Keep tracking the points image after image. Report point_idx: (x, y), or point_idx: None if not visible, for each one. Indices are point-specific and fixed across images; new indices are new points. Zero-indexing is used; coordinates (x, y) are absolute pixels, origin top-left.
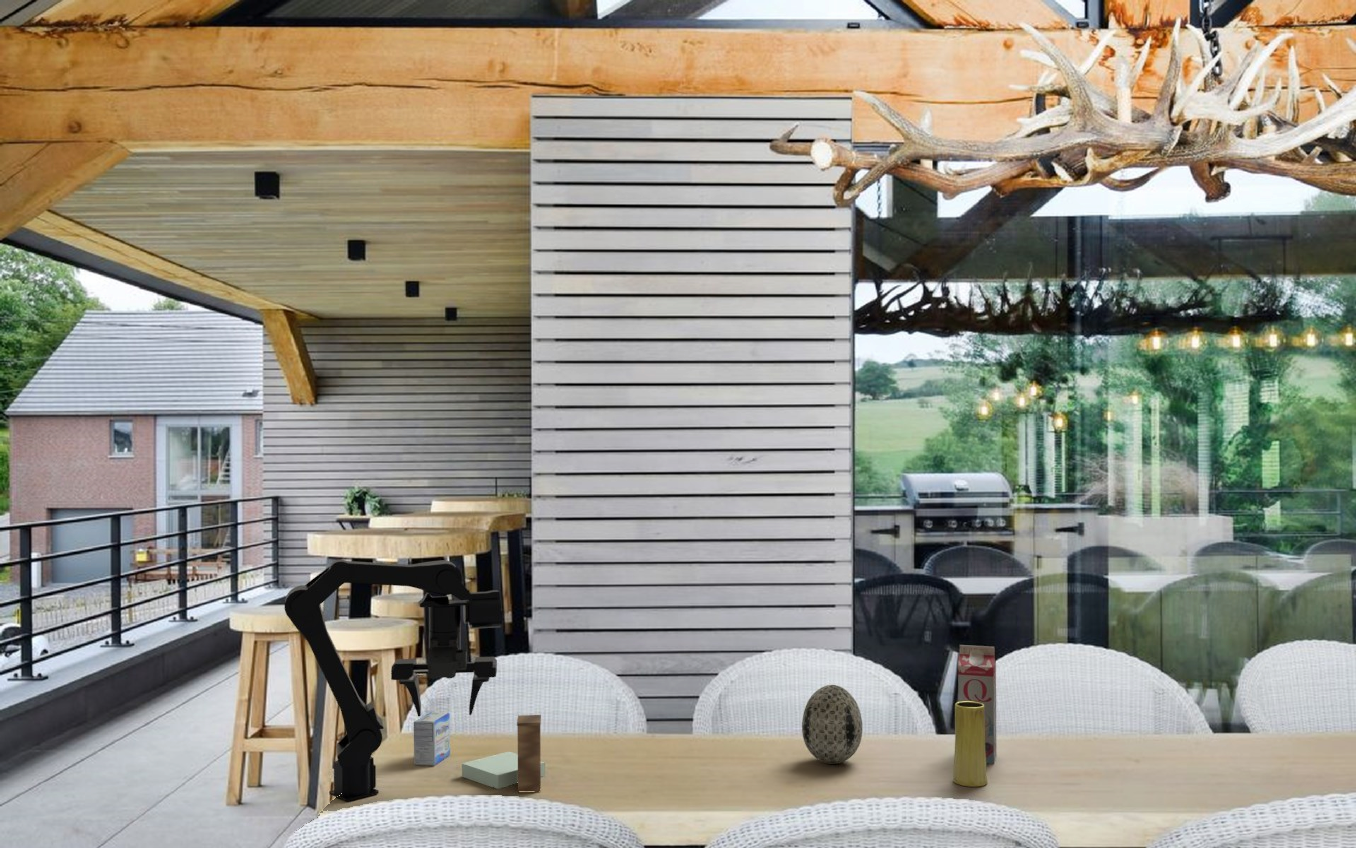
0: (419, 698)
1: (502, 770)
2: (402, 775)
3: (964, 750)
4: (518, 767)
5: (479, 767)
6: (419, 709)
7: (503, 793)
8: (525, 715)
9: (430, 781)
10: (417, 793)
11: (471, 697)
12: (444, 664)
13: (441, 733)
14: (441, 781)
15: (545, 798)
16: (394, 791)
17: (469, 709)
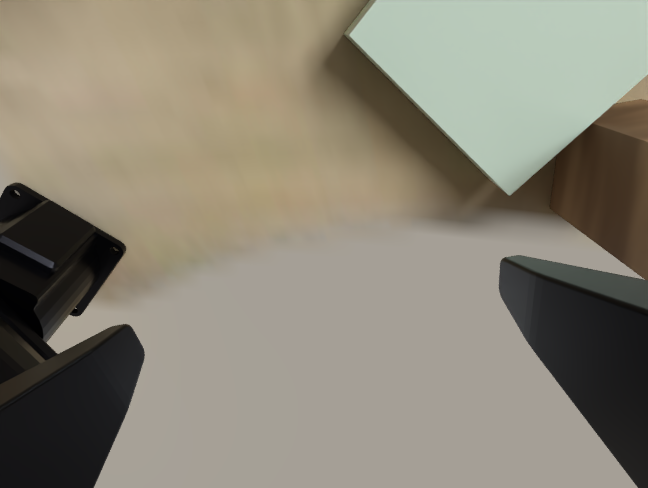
0: (51, 457)
1: (529, 137)
2: (82, 18)
3: None
4: (603, 245)
5: (435, 99)
6: (124, 406)
7: (505, 214)
8: None
9: (236, 100)
10: (242, 228)
11: (608, 433)
12: None
13: None
14: (277, 98)
15: None
16: (161, 215)
17: (522, 332)
